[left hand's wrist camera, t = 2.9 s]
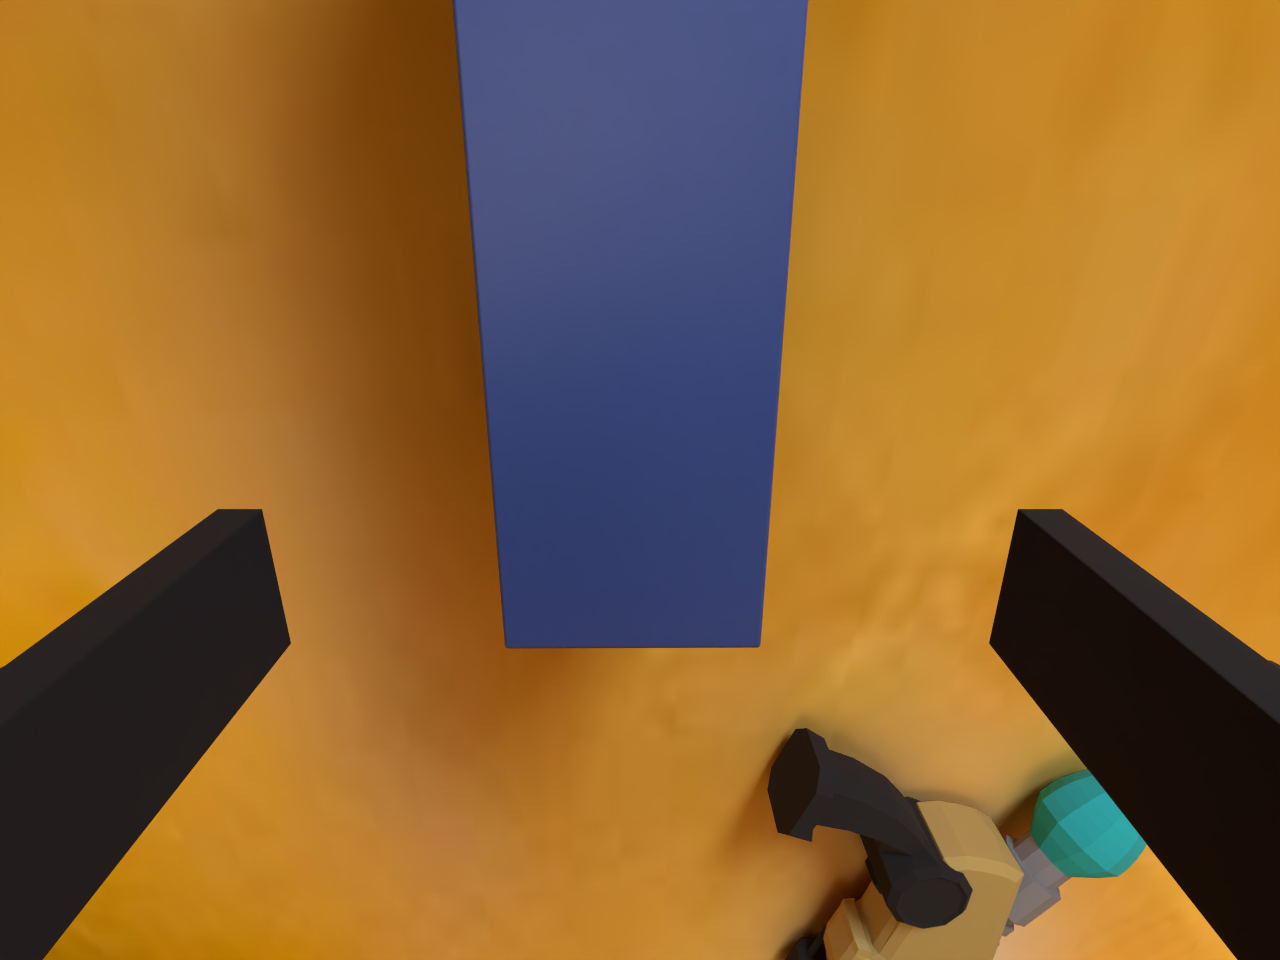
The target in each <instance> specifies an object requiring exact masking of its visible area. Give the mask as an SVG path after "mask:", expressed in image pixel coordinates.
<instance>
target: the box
mask: <svg viewBox="0 0 1280 960" xmlns="http://www.w3.org/2000/svg"><path fill="white" fill-rule="evenodd" d="M452 2H453V14H454V26H455V39H456V51H457V63H458V75H459V88H460V100H461V112H462V124H463V137H464V149H465V161H466V173H467V186H468V198H469V210H470V222H471V235H472V247H473V259H474V272H475V284H476V296H477V308H478V321H479V333H480V345H481V357H482V370H483V382H484V394H485V406H486V419H487V431H488V443H489V455H490V468H491V480H492V492H493V505H494V517H495V529H496V541H497V554H498V566H499V578H500V590H501V603H502V615H503V627H504V639H505V646H506V648H730V647H759V646H760V643H761V629H762V616H763V602H764V589H765V575H766V562H767V548H768V535H769V521H770V508H771V494H772V480H773V467H774V453H775V440H776V426H777V413H778V399H779V386H780V372H781V359H782V345H783V332H784V318H785V304H786V291H787V277H788V264H789V250H790V237H791V223H792V210H793V196H794V183H795V169H796V155H797V142H798V128H799V115H800V101H801V88H802V74H803V61H804V47H805V34H806V20H807V7H808V0H452Z"/></svg>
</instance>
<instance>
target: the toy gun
mask: <svg viewBox="0 0 1280 960" xmlns="http://www.w3.org/2000/svg"><path fill="white" fill-rule="evenodd" d="M768 794H769V798H770V802H771V806H772V810H773V815H774V819H775V823H776V827H777V831H778V833H782V834H786V835H789V836H793V837H796V838H800V839H803V840H807V841H812V833H813V829H814V827H815V826H816V825H821V826H827V827H832V828H838V829H843V830H849V831H852V832H855V833H858V834H860V836H861V839H862V842H863V844H864V847H865V850H866V852H867V855H868V858H867V859H866V861H865V862H866V865H867V868H868V870H869V873H870V876H871V879H872V881H871V883H870V884H869V886H868V888H867V889H866V891H865V893H864V895H863V896H862V898H861V899H860V900H858V901H856V902H854V898H847V899H843V900H842V902H841V904H840V906H839V907H838V909H837V910H836V911H835V913H834V914H833V916H832V917H831V918H830V920H829V921H828V923H827V924H826V925H825V927H824V928H823V929H822V931H821V932H820V933H819V935H818V936H817V938H816V939H815V940H814V939H812V938H811V937H809V938H800V940H799V941H798V943H797V944H796V945H795V947H794V948H793V949H792V951H791V952H790V954H789V955H788V956H787V958H786V959H785V960H993V957H994V955H995V952H996V949H997V947H998V946H999V941H1000V938H1001V936H1007V935H1008V934H1010V933H1011V932H1012V931H1014V924H1017V925H1020V926H1026V925H1027V924H1028V923H1030V922H1031V921H1032V920H1034V919H1035V918H1036V917H1038V916H1039V915H1040V914H1042V913H1043V912H1045V911H1046V910H1047V909H1049V908H1050V907H1051V906H1053V905H1054V904H1055V903H1057V902H1058V901H1059V900H1061V897H1060V892H1059V889H1058V887H1059V886H1060V885H1062V884H1063V883H1064V882H1066V881H1067V880H1068V879H1070V878H1071V877H1085V878H1104V877H1116V876H1119V875H1121V874H1122V873H1123V872H1124V871H1126V870H1127V869H1128V868H1129V867H1130V866H1131V865H1132V864H1133V863H1134V862H1135V861H1136V860H1137V858H1138V857H1139V856H1140V854H1141V853H1142V851H1143V850H1144V848H1145V846H1146V843H1145V841H1144V840H1143V839H1142V837H1141V836H1140V835H1139V834H1138V832H1137V831H1136V830H1135V829H1134V827H1133V826H1132V825H1131V823H1130V822H1129V821H1128V820H1127V818H1126V817H1125V816H1124V815H1123V813H1122V812H1121V811H1120V809H1119V808H1118V807H1117V806H1116V804H1115V803H1114V802H1113V800H1112V799H1111V798H1110V797H1109V795H1108V794H1107V793H1106V792H1105V790H1104V789H1103V788H1102V786H1101V785H1100V784H1099V783H1098V781H1097V780H1096V779H1095V778H1094V776H1093V775H1092V774H1091V772H1090V771H1089V770H1088V769H1087V770H1083V771H1079V772H1075V773H1072V774H1069V775H1067V776H1064V777H1062V778H1060V779H1058V780H1056V781H1054V782H1052V783H1051V784H1049V785H1048V786H1046V787H1045V788H1044V789H1042V790H1041V791H1040V793H1039V796H1038V799H1037V802H1036V805H1035V808H1034V813H1033V818H1032V823H1031V828H1030V830H1029V831H1028V832H1027V833H1025V834H1024V835H1023V836H1022V837H1020V838H1019V839H1018V840H1016V839H1015V838H1012V837H1010V836H1008V835H1006V836H1005V837H1003V838H1002V836H1001V834H1000V833H999V831H998V829H997V828H996V826H995V824H994V823H993V821H992V819H991V818H990V817H988V816H986V815H985V814H983V813H981V812H980V811H978V810H976V809H975V808H972V807H968V806H964V805H960V804H957V803H950V802H944V801H922V802H921V801H919V800H916V799H913V798H910V797H903V795H902V794H901V792H900V791H899V790H898V789H897V788H896V787H895V786H894V785H893V784H892V783H891V782H890V781H889V780H888V779H887V778H886V777H885V776H883V775H882V774H880V773H878V772H877V771H875V770H873V769H871V768H870V767H868V766H866V765H864V764H863V763H861V762H859V761H858V760H856V759H854V758H852V757H849V756H846V755H843V754H840V753H837V752H834V751H831V750H829V749H828V747H827V745H826V742H825V739H824V738H822V737H821V736H819V735H817V734H816V733H814V732H812V731H810V730H809V729H807V728H804V729H795V731H794V733H793V734H792V736H791V737H790V739H789V741H788V742H787V744H786V745H785V747H784V748H783V750H782V752H781V753H780V755H779V756H778V758H777V760H776V761H775V763H774V764H773V766H772V768H771V774H770V779H769V784H768ZM1013 923H1014V924H1013ZM823 942H824V944H825V947H824V946H823V945H822V943H823Z"/></svg>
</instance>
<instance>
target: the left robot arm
mask: <svg viewBox="0 0 1280 960" xmlns="http://www.w3.org/2000/svg"><path fill="white" fill-rule="evenodd" d="M290 644H291V642H290V637H289V633H288V628H287V623H286V619H285V614H284V609H283V605H282V600H281V596H280V591H279V586H278V582H277V577H276V572H275V568H274V563H273V558H272V554H271V549H270V545H269V540H268V535H267V531H266V526H265V521H264V517H263V512H262V509H217V510H216V511H215V512H213V513H212V514H211V515H209V516H208V517H207V518H205V519H204V520H203V521H201V522H200V523H198V524H197V525H196V526H194V527H193V528H192V529H190V530H189V531H188V532H186V533H185V534H184V535H182V536H181V537H179V538H178V539H177V540H175V541H174V542H173V543H171V544H170V545H169V546H167V547H166V548H164V549H163V550H162V551H160V552H159V553H158V554H156V555H155V556H154V557H152V558H151V559H150V560H148V561H147V562H145V563H144V564H143V565H141V566H140V567H139V568H137V569H136V570H135V571H133V572H132V573H131V574H129V575H128V576H126V577H125V578H124V579H122V580H121V581H120V582H118V583H117V584H116V585H114V586H113V587H112V588H110V589H109V590H107V591H106V592H105V593H103V594H102V595H101V596H99V597H98V598H97V599H95V600H94V601H92V602H91V603H90V604H88V605H87V606H86V607H84V608H83V609H82V610H80V611H79V612H78V613H76V614H75V615H73V616H72V617H71V618H69V619H68V620H67V621H65V622H64V623H63V624H61V625H60V626H59V627H57V628H56V629H54V630H53V631H52V632H50V633H49V634H48V635H46V636H45V637H44V638H42V639H41V640H40V641H38V642H37V643H35V644H34V645H33V646H31V647H30V648H29V649H27V650H26V651H25V652H23V653H22V654H21V655H19V656H18V657H16V658H15V659H14V660H12V661H11V662H10V663H8V664H7V665H6V666H4V667H2V668H0V960H43V958H44V957H45V956H46V955H47V953H48V952H49V951H50V950H51V948H52V947H53V946H54V944H55V943H56V942H57V941H58V939H59V938H60V937H61V936H62V934H63V933H64V932H65V930H66V929H67V928H68V927H69V925H70V924H71V923H72V922H73V920H74V919H75V918H76V916H77V915H78V914H79V913H80V911H81V910H82V909H83V908H84V906H85V905H86V904H87V902H88V901H89V900H90V899H91V897H92V896H93V895H94V893H95V892H96V891H97V890H98V888H99V887H100V886H101V885H102V883H103V882H104V881H105V879H106V878H107V877H108V876H109V874H110V873H111V872H112V871H113V869H114V868H115V867H116V865H117V864H118V863H119V862H120V860H121V859H122V858H123V857H124V855H125V854H126V853H127V851H128V850H129V849H130V848H131V846H132V845H133V844H134V843H135V841H136V840H137V839H138V837H139V836H140V835H141V834H142V832H143V831H144V830H145V829H146V827H147V826H148V825H149V823H150V822H151V821H152V820H153V818H154V817H155V816H156V815H157V813H158V812H159V811H160V809H161V808H162V807H163V806H164V804H165V803H166V802H167V800H168V799H169V798H170V797H171V795H172V794H173V793H174V792H175V790H176V789H177V788H178V786H179V785H180V784H181V783H182V781H183V780H184V779H185V778H186V776H187V775H188V774H189V772H190V771H191V770H192V769H193V767H194V766H195V765H196V764H197V762H198V761H199V760H200V758H201V757H202V756H203V755H204V753H205V752H206V751H207V750H208V748H209V747H210V746H211V744H212V743H213V742H214V741H215V739H216V738H217V737H218V736H219V734H220V733H221V732H222V730H223V729H224V728H225V727H226V725H227V724H228V723H229V721H230V720H231V719H232V718H233V716H234V715H235V714H236V713H237V711H238V710H239V709H240V707H241V706H242V705H243V704H244V702H245V701H246V700H247V699H248V697H249V696H250V695H251V693H252V692H253V691H254V690H255V688H256V687H257V686H258V685H259V683H260V682H261V681H262V679H263V678H264V677H265V676H266V674H267V673H268V672H269V671H270V669H271V668H272V667H273V665H274V664H275V663H276V662H277V660H278V659H279V658H280V657H281V655H282V654H283V653H284V651H285V650H286V649H287V648H288V646H289V645H290ZM989 644H990V645H991V646H992V648H993V649H994V650H995V651H996V653H997V654H998V655H999V657H1000V658H1001V659H1002V660H1003V662H1004V663H1005V664H1006V665H1007V667H1008V668H1009V669H1010V671H1011V672H1012V673H1013V674H1014V676H1015V677H1016V678H1017V679H1018V681H1019V682H1020V683H1021V685H1022V686H1023V687H1024V688H1025V690H1026V691H1027V692H1028V693H1029V695H1030V696H1031V697H1032V699H1033V700H1034V701H1035V702H1036V704H1037V705H1038V706H1039V707H1040V709H1041V710H1042V711H1043V713H1044V714H1045V715H1046V716H1047V718H1048V719H1049V720H1050V721H1051V723H1052V724H1053V725H1054V727H1055V728H1056V729H1057V730H1058V732H1059V733H1060V734H1061V736H1062V737H1063V738H1064V739H1065V741H1066V742H1067V743H1068V744H1069V746H1070V747H1071V748H1072V750H1073V751H1074V752H1075V753H1076V755H1077V756H1078V757H1079V758H1080V760H1081V761H1082V762H1083V764H1084V765H1085V766H1086V767H1087V769H1088V770H1089V771H1090V772H1091V774H1092V775H1093V776H1094V778H1095V779H1096V780H1097V781H1098V783H1099V784H1100V785H1101V786H1102V788H1103V789H1104V790H1105V792H1106V793H1107V794H1108V795H1109V797H1110V798H1111V799H1112V800H1113V802H1114V803H1115V804H1116V806H1117V807H1118V808H1119V809H1120V811H1121V812H1122V813H1123V815H1124V816H1125V817H1126V818H1127V820H1128V821H1129V822H1130V823H1131V825H1132V826H1133V827H1134V829H1135V830H1136V831H1137V832H1138V834H1139V835H1140V836H1141V837H1142V839H1143V840H1144V841H1145V843H1146V844H1147V845H1148V846H1149V848H1150V849H1151V850H1152V851H1153V853H1154V854H1155V855H1156V857H1157V858H1158V859H1159V860H1160V862H1161V863H1162V864H1163V865H1164V867H1165V868H1166V869H1167V871H1168V872H1169V873H1170V874H1171V876H1172V877H1173V878H1174V879H1175V881H1176V882H1177V883H1178V885H1179V886H1180V887H1181V888H1182V890H1183V891H1184V892H1185V894H1186V895H1187V896H1188V897H1189V899H1190V900H1191V901H1192V902H1193V904H1194V905H1195V906H1196V908H1197V909H1198V910H1199V911H1200V913H1201V914H1202V915H1203V916H1204V918H1205V919H1206V920H1207V922H1208V923H1209V924H1210V925H1211V927H1212V928H1213V929H1214V930H1215V932H1216V933H1217V934H1218V936H1219V937H1220V938H1221V939H1222V941H1223V942H1224V943H1225V944H1226V946H1227V947H1228V948H1229V950H1230V951H1231V952H1232V953H1233V955H1234V956H1235V957H1236V958H1237V960H1280V665H1278V664H1276V663H1274V662H1272V661H1268V660H1266V659H1265V658H1264V657H1262V656H1261V655H1259V654H1258V653H1257V652H1255V651H1254V650H1253V649H1251V648H1250V647H1249V646H1247V645H1246V644H1245V643H1243V642H1242V641H1240V640H1239V639H1238V638H1236V637H1235V636H1234V635H1232V634H1231V633H1230V632H1228V631H1227V630H1226V629H1224V628H1223V627H1221V626H1220V625H1219V624H1217V623H1216V622H1215V621H1213V620H1212V619H1211V618H1209V617H1208V616H1207V615H1205V614H1204V613H1202V612H1201V611H1200V610H1198V609H1197V608H1196V607H1194V606H1193V605H1192V604H1190V603H1189V602H1188V601H1186V600H1185V599H1183V598H1182V597H1181V596H1179V595H1178V594H1177V593H1175V592H1174V591H1173V590H1171V589H1170V588H1168V587H1167V586H1166V585H1164V584H1163V583H1162V582H1160V581H1159V580H1158V579H1156V578H1155V577H1154V576H1152V575H1151V574H1149V573H1148V572H1147V571H1145V570H1144V569H1143V568H1141V567H1140V566H1139V565H1137V564H1136V563H1135V562H1133V561H1132V560H1130V559H1129V558H1128V557H1126V556H1125V555H1124V554H1122V553H1121V552H1120V551H1118V550H1117V549H1116V548H1114V547H1113V546H1111V545H1110V544H1109V543H1107V542H1106V541H1105V540H1103V539H1102V538H1101V537H1099V536H1098V535H1096V534H1095V533H1094V532H1092V531H1091V530H1090V529H1088V528H1087V527H1086V526H1084V525H1083V524H1082V523H1080V522H1079V521H1077V520H1076V519H1075V518H1073V517H1072V516H1071V515H1069V514H1068V513H1067V512H1065V511H1064V510H1063V509H1018V512H1017V517H1016V521H1015V526H1014V531H1013V535H1012V540H1011V545H1010V549H1009V554H1008V558H1007V563H1006V568H1005V572H1004V577H1003V582H1002V586H1001V591H1000V596H999V600H998V605H997V609H996V614H995V619H994V623H993V628H992V633H991V637H990V642H989Z"/></svg>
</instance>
